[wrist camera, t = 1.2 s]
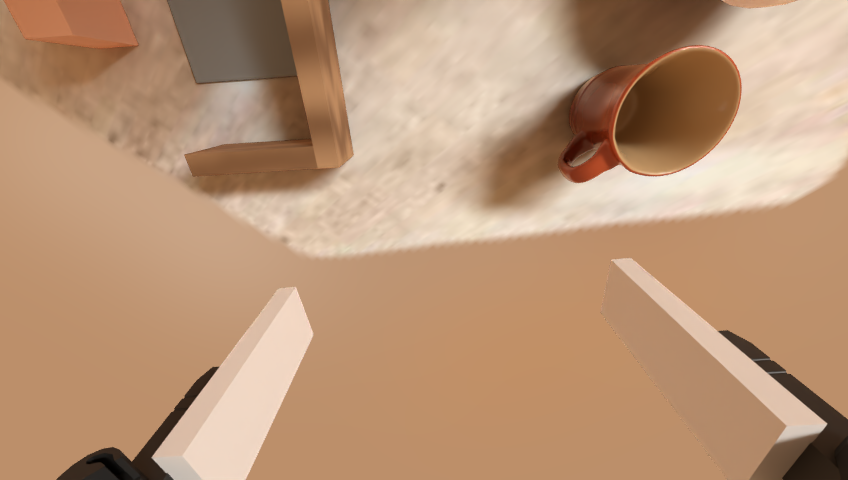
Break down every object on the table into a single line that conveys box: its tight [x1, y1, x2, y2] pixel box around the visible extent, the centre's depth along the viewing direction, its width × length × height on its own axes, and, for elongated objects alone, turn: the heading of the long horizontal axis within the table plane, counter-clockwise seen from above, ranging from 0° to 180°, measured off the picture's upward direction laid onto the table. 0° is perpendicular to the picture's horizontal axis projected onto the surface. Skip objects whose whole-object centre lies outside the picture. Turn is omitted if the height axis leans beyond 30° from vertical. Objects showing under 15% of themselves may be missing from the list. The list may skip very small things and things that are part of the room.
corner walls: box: [184, 0, 353, 176], centre depth 26 cm, size 20×14×6 cm
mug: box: [558, 45, 741, 183], centre depth 27 cm, size 12×9×10 cm
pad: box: [167, 0, 297, 83], centre depth 28 cm, size 8×11×1 cm
